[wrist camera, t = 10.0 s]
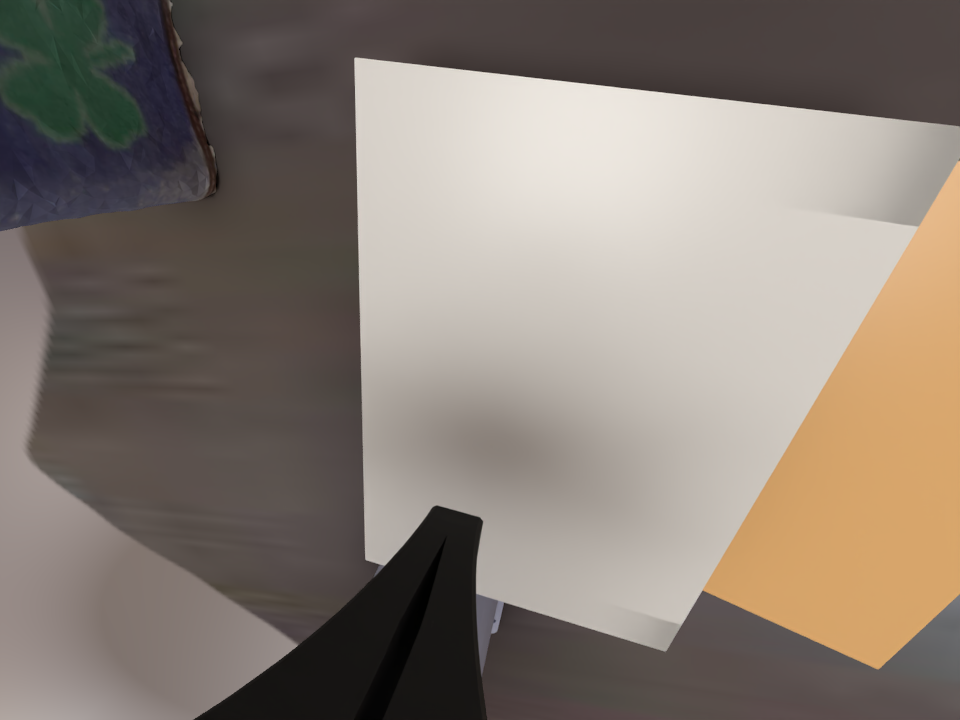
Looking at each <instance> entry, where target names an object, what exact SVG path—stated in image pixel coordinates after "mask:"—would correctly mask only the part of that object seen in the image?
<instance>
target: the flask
mask: <svg viewBox="0 0 960 720" xmlns="http://www.w3.org/2000/svg"><path fill="white" fill-rule="evenodd" d="M171 6H173V3H171V2H170V0H0V231H3V230H8V229H13V228H17V227H20V226H28V225H34V224H38V223H42V222H48V221H55V220H61V219H73V218H81V217H85V216H89V215H94V214H100V213H109V212H116V211H133V210H138V209H143V208H145V207H151V206H157V205H163V204H173V203H180V202H186V201H198V200H201V199H204V198H205V197H207V196H209V195H211V194H213V193H215V192H216V188H215V187H216V173H217V167H216V163H215V161H216V160H215V153H214V151H213V150H214V149H213V147H212V146H211V145H210V146H208V144H207V143H206V142H207V139H206V137H205V131H204V128H203V124H202V117H201V114H200V111H201V107H200V104H199V101H198V95H199V93H198V92H197V91H196V89H195V85H194V80H193V78H192V77H191V76H190V74H191V73H188V70H187V68H186V67H185V65H184V63H183V62H182V61H181V57H180V51H179V48H180V46H181V45H182V44H183V42H182V41H181V40H180V38H179V35H178V34H177V32H176V30H175V29H174V27H173V23H172V19H171Z"/></svg>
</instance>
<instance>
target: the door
mask: <svg viewBox="0 0 960 720" xmlns="http://www.w3.org/2000/svg"><path fill="white" fill-rule="evenodd" d="M703 591H705V592H708V593H710V594H712V595H714V596H716V597H719V598H721V599H723V600H725V601H728V602H730V603H732V604H734V605H736V606H739V607H741V608H743V609H745V610H747V611H750V612H752V613H754V614H756V615H759V616H761V617H763V618H765V619H767V620H770V621H772V622H774V623H776V624H778V625H781V626H783V627H785V628H787V629H790V630H792V631H794V632H796V633H798V634H801V635H803V636H805V637H807V638H809V639H812V640H814V641H816V642H818V643H821V644H823V645H825V646H827V647H829V648H832V649H834V650H836V651H838V652H840V653H843V654H845V655H847V656H849V657H852V658H854V659H856V660H858V661H860V662H863V663H865V664H867V665H869V666H871V667H874V668H876V669H879V668H881V667H882V666H883V665H884V664H885V663H886V662H887V661H888V660H889V659H890V658H891V657H892V656H893V655H895V654H896V653H897V652H898V651H899V650H900V649H901V648H902V647H903V646H904V645H905V644H906V643H907V642H908V641H910V640H911V639H912V638H913V637H914V636H915V635H916V634H917V633H918V632H919V631H920V630H921V629H922V628H924V627H925V626H926V625H927V624H928V623H929V622H930V621H931V620H932V619H933V618H934V617H935V616H936V615H938V614H939V613H940V612H941V611H942V610H943V609H944V608H945V607H946V606H947V605H948V604H949V603H950V602H951V601H953V600H954V599H955V598H956V597H957V596H958V595H959V594H960V161H958V162H957V163H956V165H955V167H954V168H953V170H952V172H951V174H950V175H949V177H948V179H947V180H946V182H945V184H944V185H943V187H942V189H941V190H940V192H939V194H938V195H937V197H936V199H935V200H934V202H933V204H932V205H931V207H930V209H929V210H928V212H927V214H926V215H925V217H924V219H923V221H922V222H921V224H920V226H919V227H918V229H917V231H916V232H915V234H914V236H913V237H912V239H911V241H910V242H909V244H908V246H907V247H906V249H905V251H904V252H903V254H902V256H901V257H900V259H899V261H898V263H897V264H896V266H895V268H894V269H893V271H892V273H891V274H890V276H889V278H888V279H887V281H886V283H885V284H884V286H883V288H882V289H881V291H880V293H879V294H878V296H877V298H876V299H875V301H874V303H873V304H872V306H871V308H870V310H869V311H868V313H867V315H866V316H865V318H864V320H863V321H862V323H861V325H860V326H859V328H858V330H857V331H856V333H855V335H854V336H853V338H852V340H851V341H850V343H849V345H848V346H847V348H846V350H845V352H844V353H843V355H842V357H841V358H840V360H839V362H838V363H837V365H836V367H835V368H834V370H833V372H832V373H831V375H830V377H829V378H828V380H827V382H826V383H825V385H824V387H823V388H822V390H821V392H820V393H819V395H818V397H817V399H816V400H815V402H814V404H813V405H812V407H811V409H810V410H809V412H808V414H807V415H806V417H805V419H804V420H803V422H802V424H801V425H800V427H799V429H798V430H797V432H796V434H795V435H794V437H793V439H792V441H791V442H790V444H789V446H788V447H787V449H786V451H785V452H784V454H783V456H782V457H781V459H780V461H779V462H778V464H777V466H776V467H775V469H774V471H773V472H772V474H771V476H770V477H769V479H768V481H767V482H766V484H765V486H764V488H763V489H762V491H761V493H760V494H759V496H758V498H757V499H756V501H755V503H754V504H753V506H752V508H751V509H750V511H749V513H748V514H747V516H746V518H745V519H744V521H743V523H742V524H741V526H740V528H739V529H738V531H737V533H736V535H735V536H734V538H733V540H732V541H731V543H730V545H729V546H728V548H727V550H726V551H725V553H724V555H723V556H722V558H721V560H720V561H719V563H718V565H717V566H716V568H715V570H714V571H713V573H712V575H711V577H710V578H709V580H708V582H707V583H706V585H705V587H704V588H703Z"/></svg>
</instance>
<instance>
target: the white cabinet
mask: <svg viewBox="0 0 960 720" xmlns="http://www.w3.org/2000/svg"><path fill="white" fill-rule="evenodd" d="M355 104H356V150H357V196H358V242H359V289H360V335H361V381H362V427H363V473H364V520H365V560H367V561H371V562H374V563H377V564H380V565H384V566H385V565H386V564H387V563H388V562H389V561H390V560H391V558H392V557H393V556H394V555H395V554H396V553H397V552H398V551H399V549H400V548H401V547H402V546H403V545H404V544H405V543H406V541H407V540H408V539H409V538H410V537H411V535H412V534H413V533H414V532H415V530H416V529H417V528H418V527H419V525H420V524H421V523H422V521H423V520H424V519H425V517H426V516H427V514H428V513H429V512H430V510H431V509H432V507H434V506H436V505H438V506H441V507H445V508H449V509H452V510H456V511H459V512H463V513H467V514H470V515H474V516H477V517H480V518H481V519H482V520H483V526H482V532H481V538H480V544H479V549H478V555H477V567H476V594H479V595H482V596H485V597H488V598H492V599H495V600H498V601H501V602H505V603H508V604H511V605H515V606H518V607H521V608H524V609H528V610H531V611H534V612H537V613H541V614H544V615H547V616H551V617H554V618H557V619H560V620H564V621H567V622H570V623H573V624H577V625H580V626H583V627H586V628H590V629H593V630H596V631H600V632H603V633H606V634H609V635H613V636H616V637H619V638H622V639H626V640H629V641H632V642H636V643H639V644H642V645H645V646H649V647H652V648H655V649H658V650H662V651H665V652H666V650H667V649H668V647H669V645H670V644H671V642H672V640H673V639H674V637H675V635H676V634H677V632H678V630H679V629H680V627H681V625H682V624H683V622H684V620H685V618H686V617H687V615H688V613H689V612H690V610H691V608H692V607H693V605H694V603H695V602H696V600H697V598H698V597H699V595H700V593H701V592H702V590H703V588H704V587H705V585H706V583H707V582H708V580H709V578H710V577H711V575H712V573H713V571H714V570H715V568H716V566H717V565H718V563H719V561H720V560H721V558H722V556H723V555H724V553H725V551H726V550H727V548H728V546H729V545H730V543H731V541H732V540H733V538H734V536H735V535H736V533H737V531H738V529H739V528H740V526H741V524H742V523H743V521H744V519H745V518H746V516H747V514H748V513H749V511H750V509H751V508H752V506H753V504H754V503H755V501H756V499H757V498H758V496H759V494H760V493H761V491H762V489H763V488H764V486H765V484H766V482H767V481H768V479H769V477H770V476H771V474H772V472H773V471H774V469H775V467H776V466H777V464H778V462H779V461H780V459H781V457H782V456H783V454H784V452H785V451H786V449H787V447H788V446H789V444H790V442H791V441H792V439H793V437H794V435H795V434H796V432H797V430H798V429H799V427H800V425H801V424H802V422H803V420H804V419H805V417H806V415H807V414H808V412H809V410H810V409H811V407H812V405H813V404H814V402H815V400H816V399H817V397H818V395H819V393H820V392H821V390H822V388H823V387H824V385H825V383H826V382H827V380H828V378H829V377H830V375H831V373H832V372H833V370H834V368H835V367H836V365H837V363H838V362H839V360H840V358H841V357H842V355H843V353H844V352H845V350H846V348H847V346H848V345H849V343H850V341H851V340H852V338H853V336H854V335H855V333H856V331H857V330H858V328H859V326H860V325H861V323H862V321H863V320H864V318H865V316H866V315H867V313H868V311H869V310H870V308H871V306H872V304H873V303H874V301H875V299H876V298H877V296H878V294H879V293H880V291H881V289H882V288H883V286H884V284H885V283H886V281H887V279H888V278H889V276H890V274H891V273H892V271H893V269H894V268H895V266H896V264H897V263H898V261H899V259H900V257H901V256H902V254H903V252H904V251H905V249H906V247H907V246H908V244H909V242H910V241H911V239H912V237H913V236H914V234H915V232H916V231H917V229H918V227H919V226H920V224H921V222H922V221H923V219H924V217H925V215H926V214H927V212H928V210H929V209H930V207H931V205H932V204H933V202H934V200H935V199H936V197H937V195H938V194H939V192H940V190H941V189H942V187H943V185H944V184H945V182H946V180H947V179H948V177H949V175H950V174H951V172H952V170H953V168H954V167H955V165H956V163H957V162H958V160H959V158H960V127H959V126H950V125H941V124H932V123H924V122H915V121H906V120H897V119H889V118H880V117H871V116H862V115H853V114H845V113H836V112H827V111H818V110H810V109H801V108H792V107H783V106H775V105H766V104H757V103H748V102H739V101H731V100H722V99H713V98H704V97H696V96H687V95H678V94H669V93H661V92H652V91H643V90H634V89H626V88H617V87H608V86H599V85H590V84H582V83H573V82H564V81H555V80H547V79H538V78H529V77H520V76H512V75H503V74H494V73H485V72H476V71H468V70H459V69H450V68H441V67H433V66H424V65H415V64H406V63H398V62H389V61H380V60H371V59H363V58H355Z"/></svg>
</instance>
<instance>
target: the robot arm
mask: <svg viewBox="0 0 960 720" xmlns="http://www.w3.org/2000/svg"><path fill="white" fill-rule="evenodd" d="M482 526H483V520H482V519H481V518H480V517H477V516H474V515H470V514H467V513H463V512H459V511H456V510H452V509H449V508H445V507H441V506H438V505H436V506H434V507H432V509H431V510H430V512H429V513H428V514H427V516H426V517H425V519H424V520H423V521H422V523H421V524H420V525H419V527H418V528H417V529H416V530H415V532H414V533H413V534H412V535H411V537H410V538H409V539H408V540H407V541H406V543H405V544H404V545H403V546H402V547H401V548H400V549H399V551H398V552H397V553H396V554H395V555H394V556H393V557H392V558H391V560H390V561H389V562H388V563H387V564H386V565H385V566H384V565H379V567H378V569H377V571H376V573H375V575H374V577H373V579H372V580H371V581H370V582H369V583H368V584H367V585H366V586H365V587H364V588H363V589H362V590H361V591H360V592H359V593H358V594H357V595H356V596H355V597H354V598H353V599H351V600H350V601H349V602H348V603H347V604H346V605H345V606H344V607H343V608H342V609H341V610H340V611H339V612H337V613H336V614H335V615H334V616H333V617H332V618H331V619H329V620H328V621H327V622H326V623H325V624H324V625H323V626H321V627H320V628H319V629H318V630H317V631H315V632H314V633H313V634H312V635H311V636H309V637H308V638H307V639H306V640H304V641H303V642H302V643H301V644H300V645H298V646H297V647H296V648H295V649H293V650H292V651H291V652H290V653H289V654H287V655H286V656H284V657H283V658H282V659H281V660H279V661H278V662H277V663H275V664H274V665H273V666H271V667H270V668H269V669H267V670H266V671H264V672H263V673H262V674H260V675H259V676H257V677H256V678H255V679H253V680H252V681H250V682H249V683H247V684H246V685H245V686H243V687H242V688H241V689H239V690H238V691H236V692H235V693H234V694H232V695H231V696H229V697H228V698H226V699H225V700H223V701H222V702H220V703H219V704H217V705H216V706H214V707H212V708H211V709H210V710H208V711H207V712H205V713H203V714H202V715H200V716H198V717H197V718H195V719H194V720H487V716H486V708H485V701H484V693H483V686H482V674H483V669H484V664H485V660H486V655H487V650H488V646H489V641H490V636H491V633H496V632H497V631H498V626H499V622H500V618H501V614H502V609H503V605H504V602H501V601H498V600H495V599H492V598H488V597H485V596H482V595H479V594H476V567H477V555H478V549H479V544H480V538H481V532H482Z"/></svg>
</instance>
